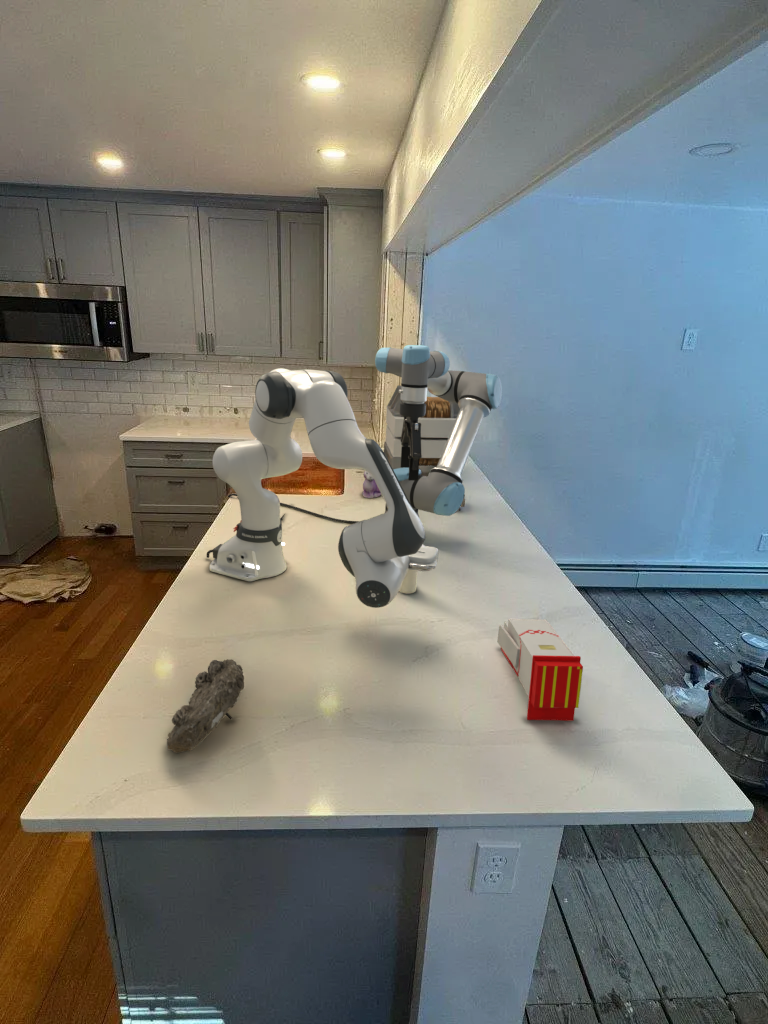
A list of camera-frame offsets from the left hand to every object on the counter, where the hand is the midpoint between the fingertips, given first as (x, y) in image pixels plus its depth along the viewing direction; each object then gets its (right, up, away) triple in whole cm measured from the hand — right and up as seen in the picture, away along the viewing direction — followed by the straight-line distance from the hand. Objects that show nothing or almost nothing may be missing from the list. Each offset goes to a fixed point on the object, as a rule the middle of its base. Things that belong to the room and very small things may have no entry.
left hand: (401, 541), depth 143 cm
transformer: (+13, +26, +132) cm, 135 cm away
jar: (+2, -14, +18) cm, 23 cm away
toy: (+28, -29, -19) cm, 44 cm away
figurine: (-10, +14, +96) cm, 98 cm away
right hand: (+3, +19, +26) cm, 32 cm away
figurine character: (+24, +10, +87) cm, 91 cm away
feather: (-42, +6, +68) cm, 80 cm away
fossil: (-37, -32, -35) cm, 60 cm away
